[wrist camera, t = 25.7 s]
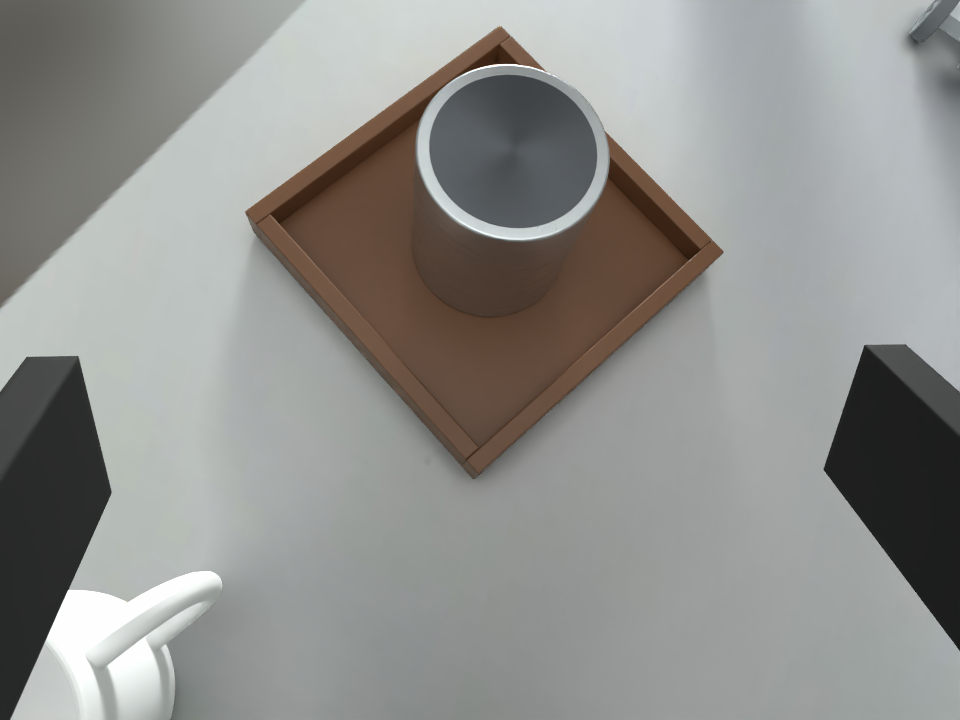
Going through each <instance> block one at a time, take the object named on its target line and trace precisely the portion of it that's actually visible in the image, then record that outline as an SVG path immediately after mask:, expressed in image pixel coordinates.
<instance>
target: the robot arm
mask: <svg viewBox="0 0 960 720" xmlns="http://www.w3.org/2000/svg"><path fill="white" fill-rule="evenodd" d="M824 471H825V472H826V474H827V475H828V476H829V478H830V479H831V480H832V482H833V483H834V484H835V486H836V487H837V488H838V490H839V491H840V492H841V494H842V495H843V496H844V497H845V499H846V500H847V501H848V503H849V504H850V505H851V507H852V508H853V509H854V511H855V512H856V513H857V515H858V516H859V517H860V519H861V520H862V521H863V523H864V524H865V525H866V527H867V528H868V529H869V531H870V532H871V533H872V535H873V536H874V537H875V539H876V540H877V541H878V543H879V544H880V545H881V547H882V548H883V549H884V551H885V552H886V553H887V555H888V556H889V557H890V559H891V560H892V561H893V563H894V564H895V565H896V567H897V568H898V569H899V571H900V572H901V573H902V575H903V576H904V577H905V579H906V580H907V581H908V583H909V584H910V585H911V586H912V588H913V589H914V590H915V592H916V593H917V594H918V596H919V597H920V598H921V600H922V601H923V602H924V604H925V605H926V606H927V608H928V609H929V610H930V612H931V613H932V614H933V616H934V617H935V618H936V620H937V621H938V622H939V624H940V625H941V626H942V628H943V629H944V630H945V632H946V633H947V634H948V636H949V637H950V638H951V640H952V641H953V642H954V644H955V645H956V646H957V648H958V649H959V650H960V392H959V391H958V390H957V389H955V388H954V387H953V386H952V385H951V384H950V383H949V382H948V381H946V380H945V379H944V378H943V377H942V376H941V375H940V374H938V373H937V372H936V371H935V370H934V369H933V368H932V367H931V366H929V365H928V364H927V363H926V362H925V361H924V360H923V359H921V358H920V357H919V356H918V355H917V354H916V353H915V352H913V351H912V350H911V349H910V348H909V347H908V346H907V345H906V344H904V345H865V346H864V349H863V352H862V355H861V358H860V361H859V364H858V367H857V370H856V373H855V376H854V379H853V382H852V385H851V388H850V391H849V394H848V397H847V400H846V403H845V406H844V409H843V412H842V415H841V418H840V421H839V424H838V427H837V430H836V433H835V436H834V439H833V442H832V445H831V448H830V451H829V454H828V457H827V460H826V463H825V467H824ZM111 493H112V492H111V488H110V484H109V479H108V475H107V471H106V467H105V463H104V459H103V455H102V451H101V447H100V443H99V439H98V435H97V430H96V426H95V422H94V418H93V414H92V410H91V406H90V402H89V398H88V394H87V390H86V386H85V382H84V377H83V373H82V369H81V365H80V361H79V357H78V356H58V357H26V359H25V360H24V361H23V363H22V364H21V365H20V366H19V368H18V369H17V370H16V372H15V373H14V374H13V376H12V377H11V378H10V380H9V381H8V382H7V384H6V385H5V386H4V388H3V389H2V390H1V392H0V720H10V719H11V717H12V715H13V713H14V710H15V708H16V706H17V704H18V702H19V699H20V697H21V695H22V693H23V690H24V688H25V686H26V684H27V681H28V679H29V677H30V675H31V672H32V670H33V668H34V666H35V663H36V661H37V659H38V657H39V654H40V652H41V650H42V648H43V646H44V643H45V641H46V639H47V637H48V634H49V632H50V630H51V628H52V625H53V623H54V621H55V619H56V616H57V614H58V612H59V610H60V607H61V605H62V603H63V601H64V598H65V596H66V594H67V592H68V590H69V587H70V585H71V583H72V581H73V578H74V576H75V574H76V572H77V569H78V567H79V565H80V563H81V560H82V558H83V556H84V554H85V551H86V549H87V547H88V545H89V542H90V540H91V538H92V536H93V534H94V531H95V529H96V527H97V525H98V522H99V520H100V518H101V516H102V513H103V511H104V509H105V507H106V504H107V502H108V500H109V498H110V495H111Z"/></svg>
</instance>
